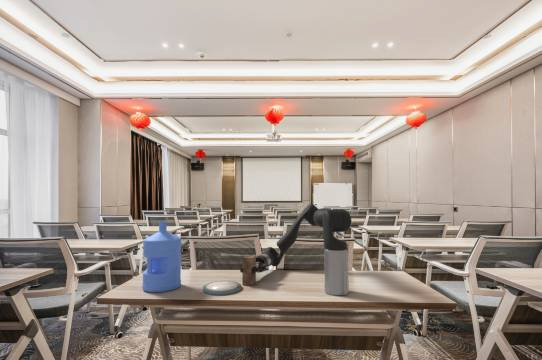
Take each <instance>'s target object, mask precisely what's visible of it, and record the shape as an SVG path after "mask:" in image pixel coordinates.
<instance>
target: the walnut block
mask: <svg viewBox="0 0 542 360" xmlns="http://www.w3.org/2000/svg"><path fill="white" fill-rule="evenodd" d="M256 256H257V255H244V256H243V257H242V261H241V263H242V268H243V273H242V274H241V275H242V278H241V279H242V284H241V286H244V287H246V286H247V287H253V286H255V285H256V284H257V272H255V273H253V274H251V269H252V268H253V267H256Z"/></svg>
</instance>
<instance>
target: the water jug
mask: <svg viewBox="0 0 542 360" xmlns="http://www.w3.org/2000/svg"><path fill="white" fill-rule="evenodd" d="M167 222H168V221H159V222H158V224H159V225H158V231H157V232H156V233H154V234H151V235H149V236H148V237H147V238H146V237H145V238H144V239H143V243H142V246H143V247H142V250H143V253H142V255H143V257H145V258H146V269H145V270H144V271H143V272H142V284H141V285H142V287H141V288H142V290H143V291H144V292H147V293H167V292H170V291H174V290H176V289H178V288H180V286H181V284H182V278H181V274H182V273H181V269H182V255H181V254H182V238H181V236H179V235H176V234H174V233H171V232H169V231H168V230H167V226H168V225H167Z"/></svg>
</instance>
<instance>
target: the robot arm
mask: <svg viewBox="0 0 542 360" xmlns="http://www.w3.org/2000/svg"><path fill="white" fill-rule="evenodd" d="M304 220H305V221H306V222H307V223H308V224H309V225H311V226H312V227H319V228H322V232H323V234H322V235H323V253H324V254H323V257H324V258H323V259H324V260H323V261H324V264H323V265H324V266H323V267H324V293H326V294H328V295H332V296H348V295H349V291H350V287H349V286H350V284H349V283H350V281H349V267H348V266H349V265H348V263H349V261H348V243H347V242H346V241H345V240H342V239H339V238H337V237H336V236H334V233H344V232H347V231H348V230H349V229H350V228H351V226H352V221H353V220H352V216H351V214H350V212H349V211H347V210H346V209H343V208H342V209H341V208H340V209H339V208H336V209H335V208H334V209H329V208H323V207H322V208H318V207H317V206H316V205H315V204H313V203H310V204H308V205H307V206H306V207H304V209H303V210H302V211H301V213H300V214H299V216H298V217H297V218H296V219H295V220H294V222H293V223H292V225H291V226H290V227H289V228H288V230H287V231H286V232H285V233H284V234H283V235H282V236H281V237H280V238H279V239H278V240H277V242H276V246H277V248H278V250H279V252H278V251H276V249H275V248H274V247H272V246H268V247H266V248H265V249H264V251H263V253H261V254H258V255H255V256H256V267H253V268H252V269H251V274H253V273H255V272H256V273H264V272H266V271H269V269H270V267H271V266H272V267H277V266H279V265H280V263H281V262H282V260H283V258H284V256H285V255H286V252H287V251H288V250H289V249H290V248H291V247H292V246H293V245H294V244H295V242H296V241H297V239H298V237H299V236H298V235H299V230H300V226H301V224H302V222H304ZM239 270H240V271H239V272H240V273H243V268H242V262H241V264H240V267H239Z"/></svg>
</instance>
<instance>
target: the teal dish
mask: <svg viewBox="0 0 542 360" xmlns="http://www.w3.org/2000/svg"><path fill="white" fill-rule="evenodd" d="M241 290H242V284H241V283H239V282H237V281H234V280H233V281H232V280H219V281H212V282H209V283H206V284H205V285H203V286H202V292H203V293H204V294H206V295H210V296H227V295H228V296H229V295H233V294H236V293H238V292H240V291H241Z"/></svg>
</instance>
